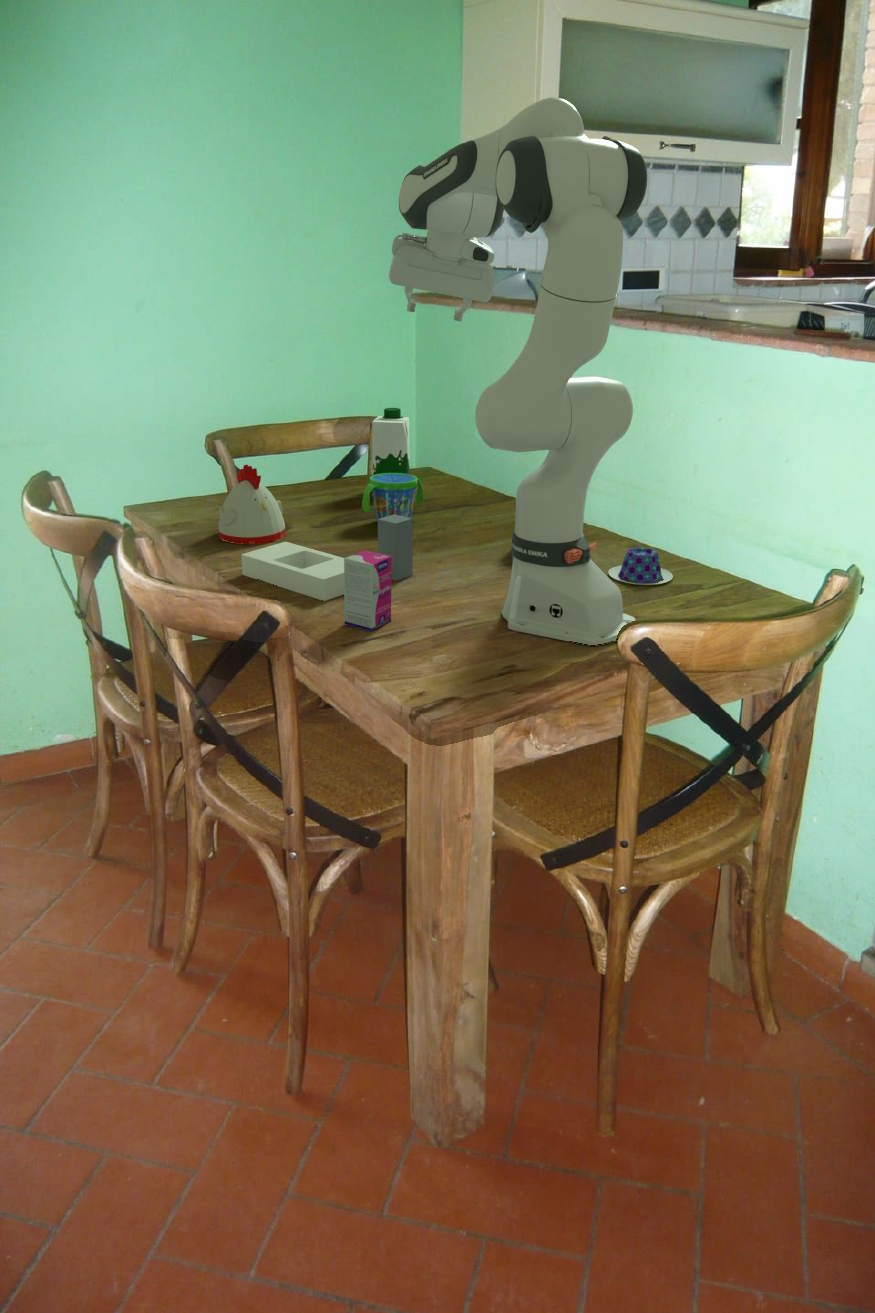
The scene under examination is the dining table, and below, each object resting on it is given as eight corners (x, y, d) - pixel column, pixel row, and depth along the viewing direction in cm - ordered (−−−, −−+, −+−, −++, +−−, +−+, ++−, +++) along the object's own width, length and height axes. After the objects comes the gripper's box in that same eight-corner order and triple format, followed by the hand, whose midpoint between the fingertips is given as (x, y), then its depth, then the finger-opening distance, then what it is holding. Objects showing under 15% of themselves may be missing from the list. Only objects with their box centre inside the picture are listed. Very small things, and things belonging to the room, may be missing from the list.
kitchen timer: (240, 549, 201) (235, 475, 196) (207, 534, 211) (200, 464, 205) (298, 536, 210) (294, 466, 204) (263, 523, 219) (258, 455, 213)
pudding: (667, 591, 180) (670, 564, 178) (602, 583, 184) (604, 556, 182) (676, 572, 190) (679, 545, 188) (614, 565, 194) (616, 539, 192)
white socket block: (368, 585, 181) (367, 564, 179) (324, 601, 173) (323, 579, 172) (286, 561, 194) (285, 541, 192) (242, 574, 186) (241, 554, 185)
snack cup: (411, 512, 228) (410, 468, 224) (436, 523, 220) (436, 477, 216) (351, 522, 220) (350, 477, 216) (375, 533, 212) (374, 486, 208)
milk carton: (412, 489, 249) (412, 408, 241) (405, 497, 241) (404, 414, 233) (378, 487, 250) (376, 406, 242) (370, 496, 242) (368, 412, 234)
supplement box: (373, 632, 160) (371, 564, 156) (343, 624, 163) (341, 558, 158) (393, 621, 165) (392, 555, 160) (364, 614, 168) (362, 549, 163)
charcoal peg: (412, 575, 187) (412, 518, 182) (396, 581, 183) (395, 523, 179) (394, 570, 189) (394, 514, 185) (378, 576, 186) (377, 519, 182)
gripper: (395, 234, 182) (382, 309, 190) (502, 256, 186) (485, 329, 194) (394, 227, 188) (381, 300, 195) (498, 249, 191) (481, 320, 199)
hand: (433, 315), depth 194 cm, fingers open, 8 cm apart
